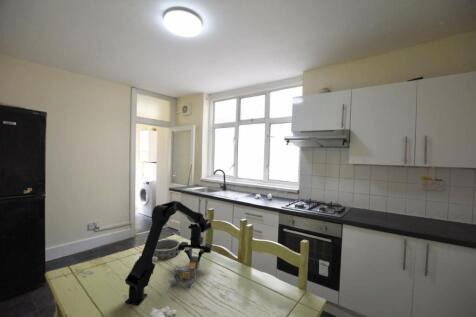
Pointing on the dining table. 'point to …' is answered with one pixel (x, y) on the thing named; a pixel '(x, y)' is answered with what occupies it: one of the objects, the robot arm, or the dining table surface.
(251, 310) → the dining table surface
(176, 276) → the frame
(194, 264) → the plug
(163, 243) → the grey round bowl
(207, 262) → the dining table surface
